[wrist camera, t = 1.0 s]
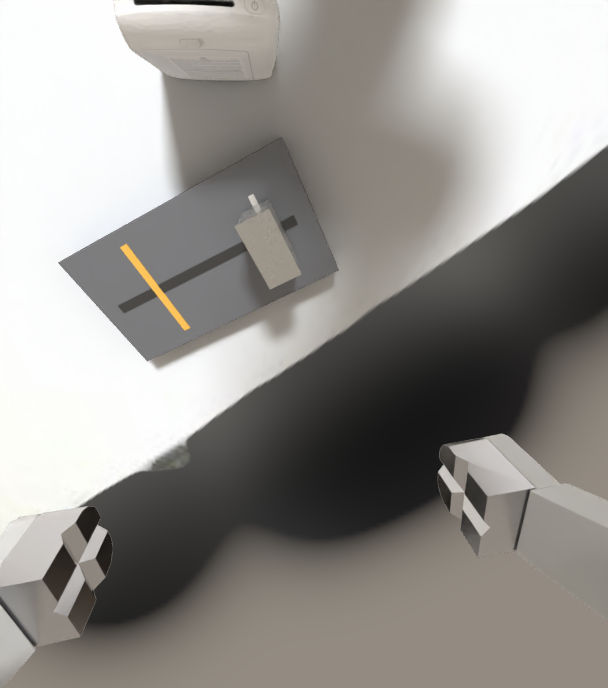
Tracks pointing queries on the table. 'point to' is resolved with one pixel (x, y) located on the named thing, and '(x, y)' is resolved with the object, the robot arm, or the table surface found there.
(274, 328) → the table surface
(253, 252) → the fader
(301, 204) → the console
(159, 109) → the table surface
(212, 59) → the photo printer
